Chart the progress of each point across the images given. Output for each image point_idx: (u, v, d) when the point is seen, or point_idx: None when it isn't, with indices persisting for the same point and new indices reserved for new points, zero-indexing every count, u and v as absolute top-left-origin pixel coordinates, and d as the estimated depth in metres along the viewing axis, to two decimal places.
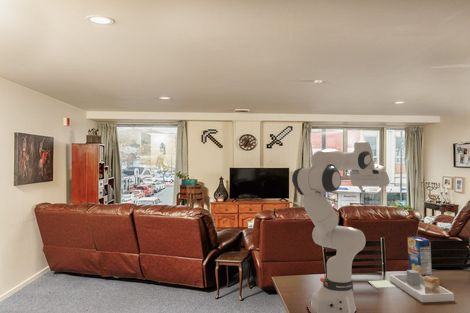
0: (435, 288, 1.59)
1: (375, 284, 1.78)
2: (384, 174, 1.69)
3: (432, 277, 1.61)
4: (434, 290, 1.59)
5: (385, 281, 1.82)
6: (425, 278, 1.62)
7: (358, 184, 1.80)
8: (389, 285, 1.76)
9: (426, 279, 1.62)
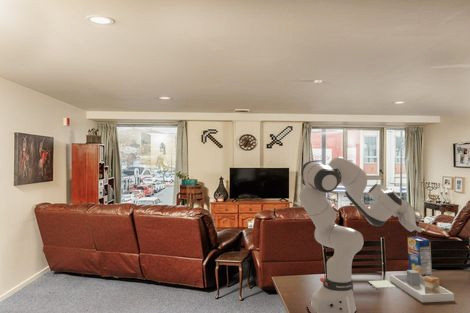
0: (435, 288, 1.59)
1: (375, 284, 1.78)
2: None
3: (432, 277, 1.61)
4: (434, 290, 1.59)
5: (385, 281, 1.82)
6: (425, 278, 1.62)
7: (414, 222, 1.55)
8: (389, 285, 1.76)
9: (426, 279, 1.62)
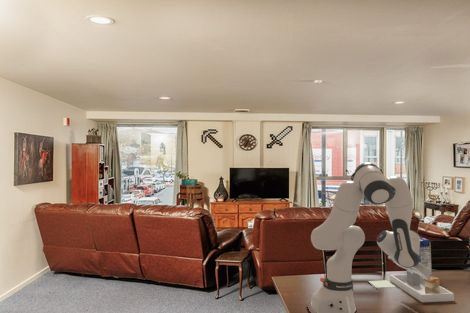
0: (435, 288, 1.59)
1: (375, 284, 1.78)
2: None
3: (432, 277, 1.61)
4: (434, 290, 1.59)
5: (385, 281, 1.82)
6: None
7: None
8: (389, 285, 1.76)
9: None
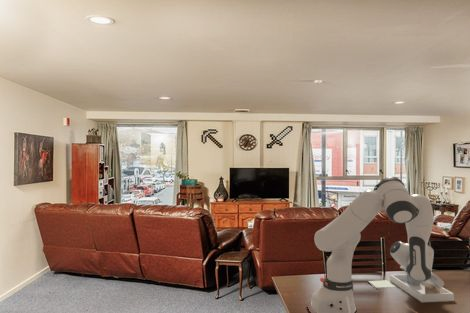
0: (435, 288, 1.59)
1: (375, 284, 1.78)
2: None
3: None
4: (434, 290, 1.59)
5: (385, 281, 1.82)
6: None
7: None
8: (389, 285, 1.76)
9: None
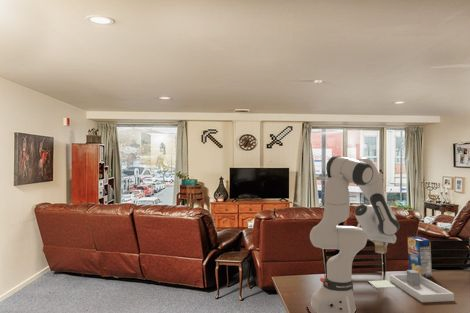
0: None
1: (375, 284, 1.78)
2: None
3: None
4: (383, 247, 1.77)
5: (385, 281, 1.82)
6: None
7: None
8: (389, 285, 1.76)
9: None
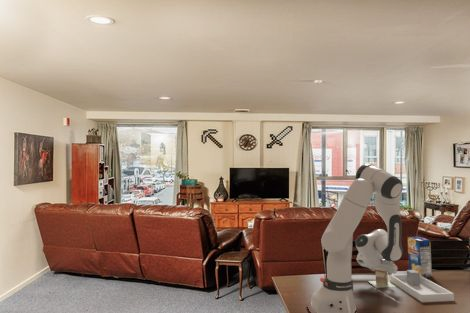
0: (385, 276, 1.77)
1: (375, 284, 1.78)
2: None
3: None
4: (384, 279, 1.76)
5: None
6: (376, 269, 1.79)
7: None
8: (389, 285, 1.76)
9: None
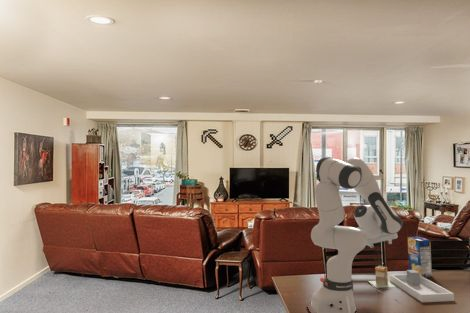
0: (385, 276, 1.77)
1: (375, 284, 1.78)
2: None
3: (381, 267, 1.79)
4: (384, 279, 1.76)
5: None
6: (376, 269, 1.79)
7: None
8: (389, 285, 1.76)
9: (377, 269, 1.78)
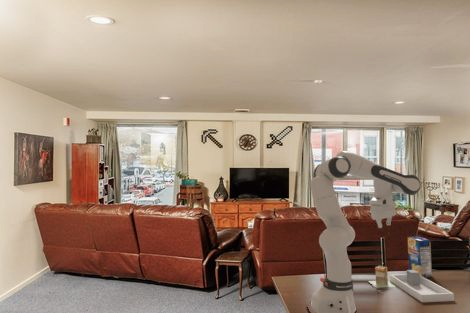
0: (385, 276, 1.77)
1: (375, 284, 1.78)
2: (373, 207, 1.62)
3: (381, 267, 1.79)
4: (384, 279, 1.76)
5: None
6: (376, 269, 1.79)
7: None
8: (389, 285, 1.76)
9: (377, 269, 1.78)
